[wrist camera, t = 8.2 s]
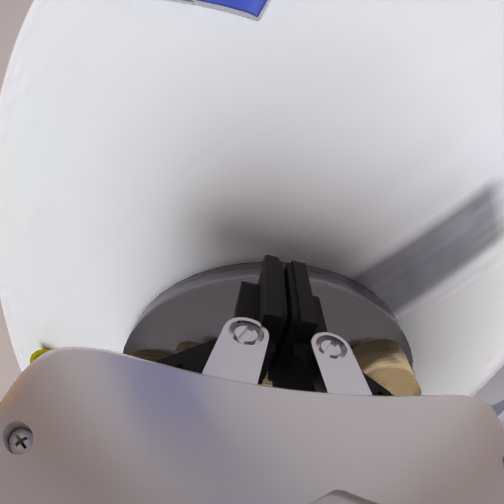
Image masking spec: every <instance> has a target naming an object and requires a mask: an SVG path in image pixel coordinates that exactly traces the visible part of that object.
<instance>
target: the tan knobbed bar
mask: <svg viewBox="0 0 504 504" xmlns="http://www.w3.org/2000/svg"><path fill="white" fill-rule="evenodd" d="M197 345H200V343H197V342H193V341H184V342H181V343H179V344H178V345H177V346H176V349H175V351H174V354H175V353H178V352H181V351H184V350H186V349H189V348H192V347H194V346H197ZM351 350H352V352H353V354H354V356H355V358H356V360H357V363H358V365H359V367H360V369H361V371H362V372H363V373H365V374H366V375H368V376H369V377H370V378H372V379H373V380H374V381H376V382H377V383H378V384H380V385H381V386H382V387H384V388H385V389H387V390H388V391H389V392H391V393H392V394H393V395H394V396H421V389H420V387H419V385H418V382H417V380H416V378H415V375H414V373H413V371H412V369H411V366H410V364H409V362H408V360H407V358H406V355H405V353H404V351H403V349H402V347H401V345H400V344H399V343H397V342H396V341H393V340H390V339H375V340H371V341H367V342H365V343H362V344H360V345H358V346H356V347H354V348H353V349H351ZM261 385H265V386H272V381H271V380H268V371H267V374H266V376H265V379H264V380H263V382H262V384H261Z"/></svg>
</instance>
